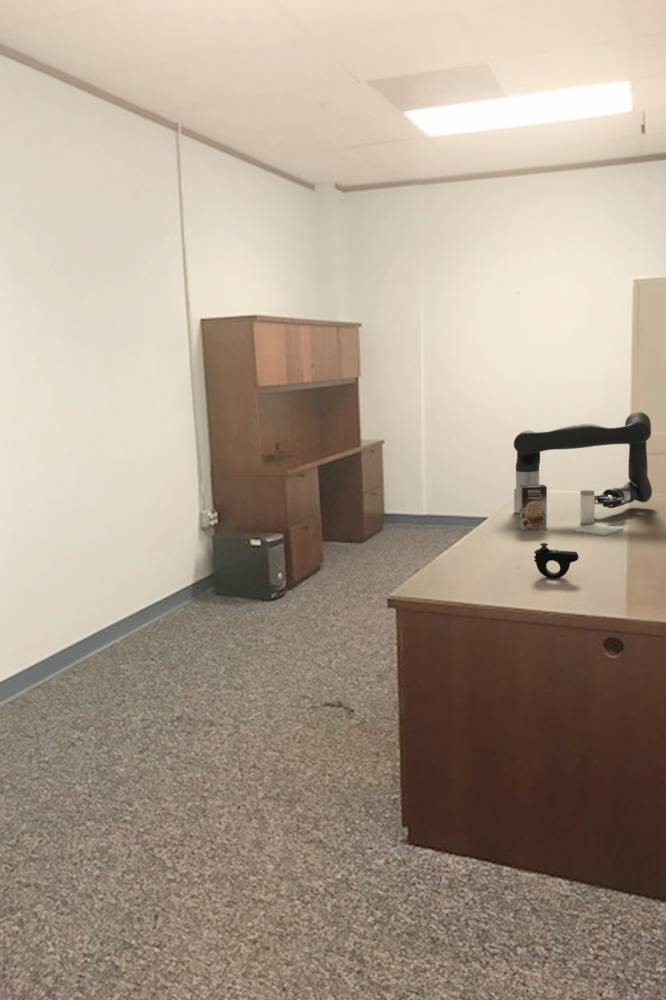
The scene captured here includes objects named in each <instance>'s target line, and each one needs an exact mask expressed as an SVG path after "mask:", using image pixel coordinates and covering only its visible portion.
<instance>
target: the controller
mask: <svg viewBox="0 0 666 1000" xmlns="http://www.w3.org/2000/svg"><path fill="white" fill-rule="evenodd" d="M539 546H541V547H540V548H539V549H535V551H534V552H533V553H534V554H535V555H534V556H533V558H534V560H533V561H534V562H535V564H536V568H537V570H538V571H539V573H540V574H542V576H543V577H545V578H548V579H555V580H556V579H560V578H562V577H564V576H565V575H566V574H567V573H568V571H569V569H570V565H571V563H574V562H577V561H578V559H579V557H580V556H579V554H578V552H577V551H571V550H570V551H569V550H557V549H550V548H548V547H547V546H548V543H547V542H542V543H540V545H539ZM551 561H554V562H555V563H557V564H558V566H559V570H558V571H557V572H552V571H549V568H548V567H547V564H548V563H549V562H551Z"/></svg>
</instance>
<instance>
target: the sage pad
mask: <svg viewBox="0 0 666 1000" xmlns="http://www.w3.org/2000/svg"><path fill="white" fill-rule="evenodd" d="M623 530H624V527H620V526H614V525H613V526H612V525H603V524H598V523H593V524H587V525H585V526H581V527H579V528H575V529H574V532H575V531H577V532H576V533H581V532H584V533H583V534H588V533H591V534H590V535H595V534H597V536H602V535H603V537H606V536H608V535H609V536H610V535H613V534H615V533H619V532H622V531H623Z"/></svg>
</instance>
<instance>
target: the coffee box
mask: <svg viewBox="0 0 666 1000" xmlns="http://www.w3.org/2000/svg"><path fill="white" fill-rule="evenodd" d="M547 489H548V486H547V485H545V484H539V485H520V513H519V528H520V529H521V531H543V530H542V529H546V530H547V528H548V527H547V520H548V519H547V517H548V516H547V515H548V514H547V510H548V507H547V505H548V504H547V503H548V502H547V497H548V495H547V494H548V493H547V491H548V490H547ZM540 529H541V530H540Z"/></svg>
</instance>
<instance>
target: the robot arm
mask: <svg viewBox="0 0 666 1000" xmlns="http://www.w3.org/2000/svg"><path fill="white" fill-rule="evenodd" d="M651 436H652V424H651V420H650V418H649V416H648V415H647V414H646V413H645V412H641V411H635V412H633V413H630V414H629V415H628V416H627V418H626V419H625V423H624V425H623V426H616V427H605V426H601V425H599V424H594V423H581V424H573V425H569V426H564V427H561V428H557V429H553V430H549V431H548V430H547V431H539V432H535V431H533V430H524V431H522V432H520V433H519V434H517V435H516V437H515V438H514V440H513V447H514V450H515V451H516V452H517V453H516V463H515V488H514V490H513V499H514V500H513V501H514V503H513V504H514V509H513V511H514V513H517V514H520V485H540V463H541V452H544V451H551V450H573V449H574V450H575V449H582V448H584V449H585V448H591V447H598V446H599V447H600V446H608V445H628V446H629V448H628V449H629V451H628V465H627V466H628V479H629V481H628V482H626V483H625V485H623V486H616V487H611V488H609V489H605V490H604V491H603V492H602V493H601V494H594V506H596V505H602V506H603V507H604V508H608V509H614V508H618V507H622V506H624V505H627V504H630V503H632V502H635V501H637V502H640V503H646V502H648V501H649V500H650V499H651V497H652V494H653V488H652V485H651V481H650V479H649V476H648V454H647V441H648V440H649V439H650V438H651Z"/></svg>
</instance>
